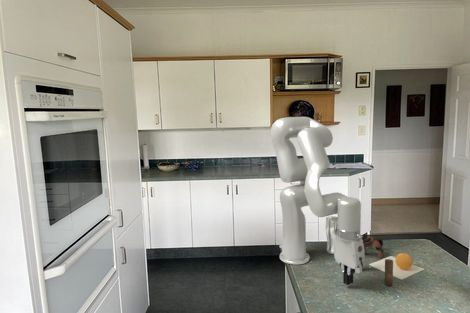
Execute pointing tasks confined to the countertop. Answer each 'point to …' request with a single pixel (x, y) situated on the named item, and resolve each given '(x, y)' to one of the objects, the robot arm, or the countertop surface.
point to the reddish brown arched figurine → (377, 242)
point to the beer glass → (331, 233)
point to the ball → (404, 261)
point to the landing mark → (397, 268)
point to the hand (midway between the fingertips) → (348, 283)
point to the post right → (388, 273)
